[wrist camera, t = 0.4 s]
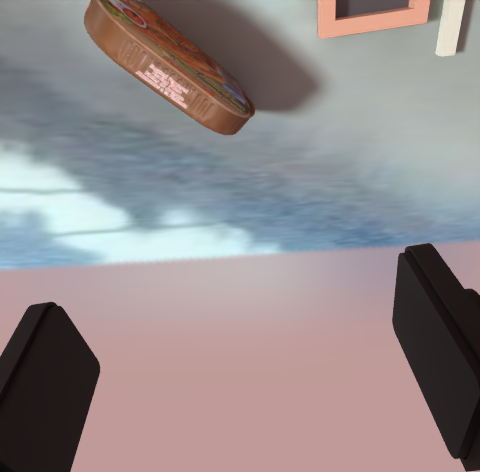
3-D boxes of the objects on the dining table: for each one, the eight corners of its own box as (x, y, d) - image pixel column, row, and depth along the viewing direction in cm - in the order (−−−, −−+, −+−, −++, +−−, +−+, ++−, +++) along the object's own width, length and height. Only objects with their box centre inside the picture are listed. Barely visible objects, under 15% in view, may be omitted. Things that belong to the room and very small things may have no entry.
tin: (254, 94, 37) (261, 125, 30) (234, 119, 38) (236, 154, 31) (113, -23, 31) (82, -17, 24) (96, 12, 32) (62, 27, 26)
